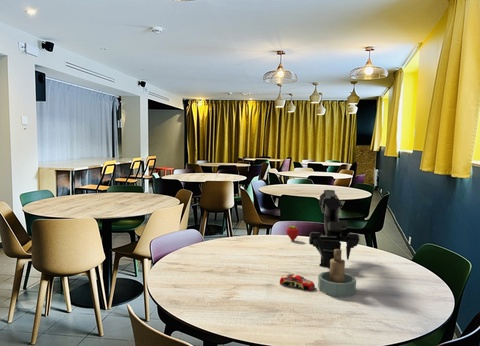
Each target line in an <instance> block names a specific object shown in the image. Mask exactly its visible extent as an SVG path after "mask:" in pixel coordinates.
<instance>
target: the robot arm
mask: <svg viewBox="0 0 480 346" xmlns="http://www.w3.org/2000/svg"><path fill="white" fill-rule="evenodd" d="M335 191H336V190H334V189H324V190H323V193H322V194H320V195H319V207H320V211H321V212H322V213H323V221H324V230H322V231H321V232H318V231H317V232H316V231H311V232H310V233H309V236H308V244H309V245H311V246H312V247H315V249H316V250H317V251H318V253H319V255H320V263H319V265H318V266H319V267H324V268H329V269H330V259H334V249H340V250H342V248H341V247H342V243H345V244H346V246H345V248H346V249H345V250H346V253H345V255H346V260H347V261H349V259H350V254H351V250H352V249H354V248H355V247H357V246H358V244H359V241H360V236H359V234H358V233H349V232H348V233H347V236H342V234H343V230H347V229H348V223H347V220H341V221H340V220H339V219H340V218H339V215H340V213H341V212H340V210H341V209H342V208H343V203H342V202H341V200H340V198H339V197H338V195H337V194H336V192H335ZM341 242H342V243H341Z"/></svg>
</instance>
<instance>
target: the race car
mask: <svg viewBox="0 0 480 346" xmlns="http://www.w3.org/2000/svg"><path fill="white" fill-rule="evenodd" d="M279 284H280V285H282V286H284V287H289V288H295V289H300V290H304V291H312V290H314V289H315V287H316V285H315V283H314V282H313V281H311V280H309V279H307V278H305V277H304V276H301V275H299V274H293V273H291V274H290V273H288V274H283V275H282V276H281V277H280V279H279Z"/></svg>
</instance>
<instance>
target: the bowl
mask: <svg viewBox="0 0 480 346" xmlns="http://www.w3.org/2000/svg"><path fill="white" fill-rule="evenodd" d="M317 277H318V278H317V279H318V280H317V288H318V290H319V291H320V292H321V293H322V294H325V295H327V296H333V297H339V298H342V297H343V298H347V297H350V296H354V295H355V294H356V291H357V279H356V277H355V276H354V275H351V274H349V273H347V272H344V283H334V282H329V280H330V270H329V271H328V270H327V271H324V272H322V271H321V273H319V274H318V275H317Z"/></svg>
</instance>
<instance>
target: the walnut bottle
mask: <svg viewBox="0 0 480 346" xmlns="http://www.w3.org/2000/svg"><path fill="white" fill-rule="evenodd" d="M342 251H343V250H342V249H334V259H330V268H329V271H330V280H329V282H334V283H344V273H345V269H346V261H345V260H344V259H342V253H343V252H342Z"/></svg>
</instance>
